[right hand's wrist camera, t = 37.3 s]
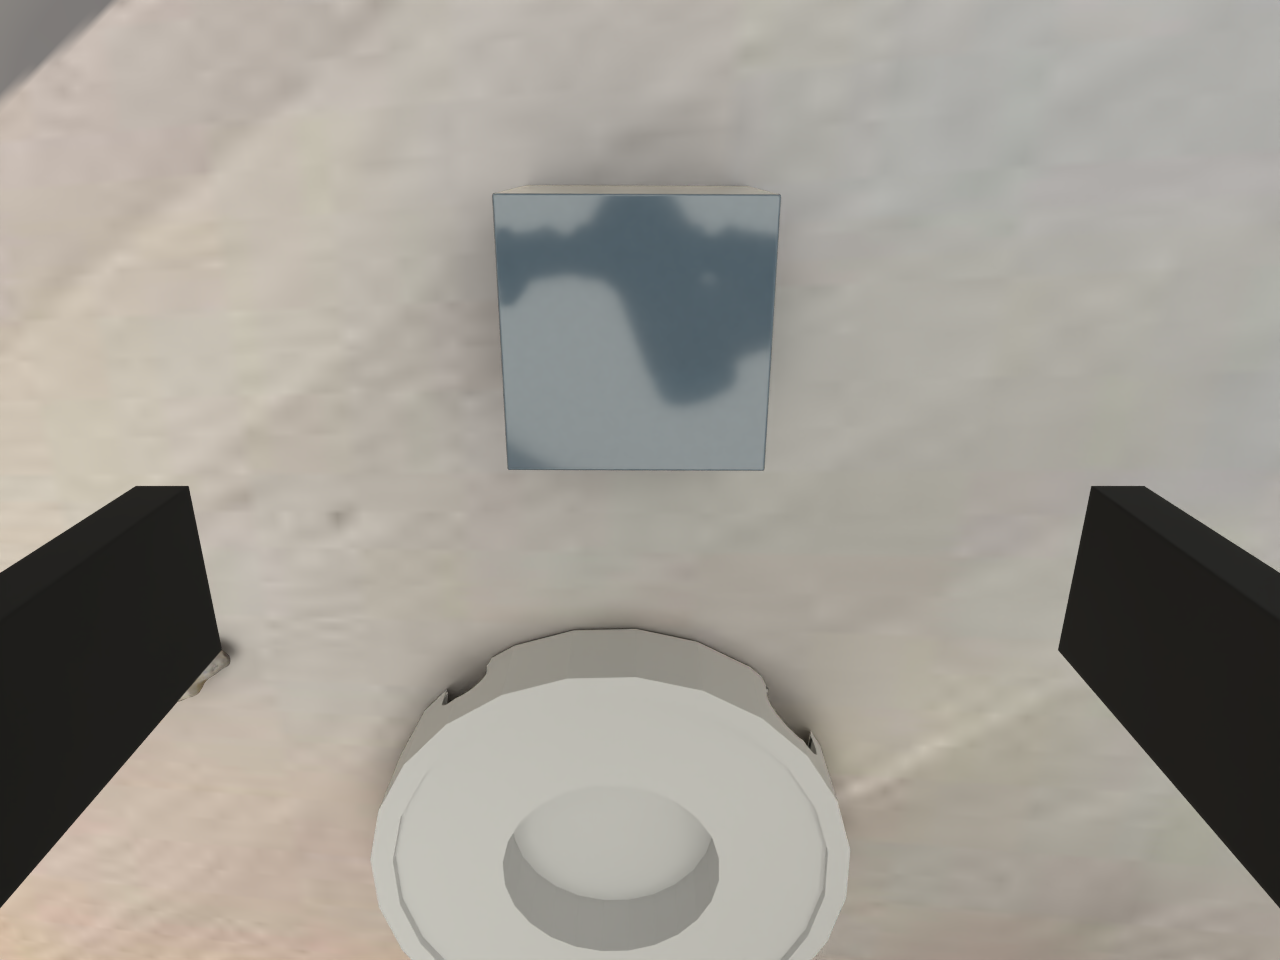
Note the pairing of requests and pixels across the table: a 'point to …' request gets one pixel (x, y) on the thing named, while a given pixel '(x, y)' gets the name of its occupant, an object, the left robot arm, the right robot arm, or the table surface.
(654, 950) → the ashtray
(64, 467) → the table surface
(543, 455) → the block
